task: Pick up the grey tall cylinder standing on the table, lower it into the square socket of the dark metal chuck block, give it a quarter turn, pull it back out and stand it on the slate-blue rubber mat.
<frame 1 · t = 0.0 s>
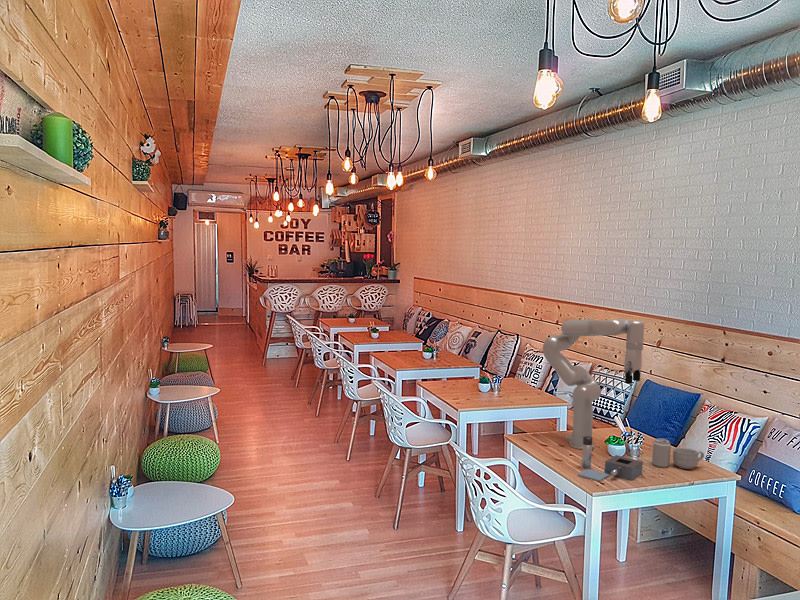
hand: (632, 382, 289), 37 cm above the table, tool pointing down, fingers open, 9 cm apart
mat: (593, 476, 264), on the table
chuck block: (623, 473, 269), on the table
grey tall cylinder: (586, 467, 275), on the table
teacup: (688, 467, 280), on the table
can: (660, 465, 281), on the table
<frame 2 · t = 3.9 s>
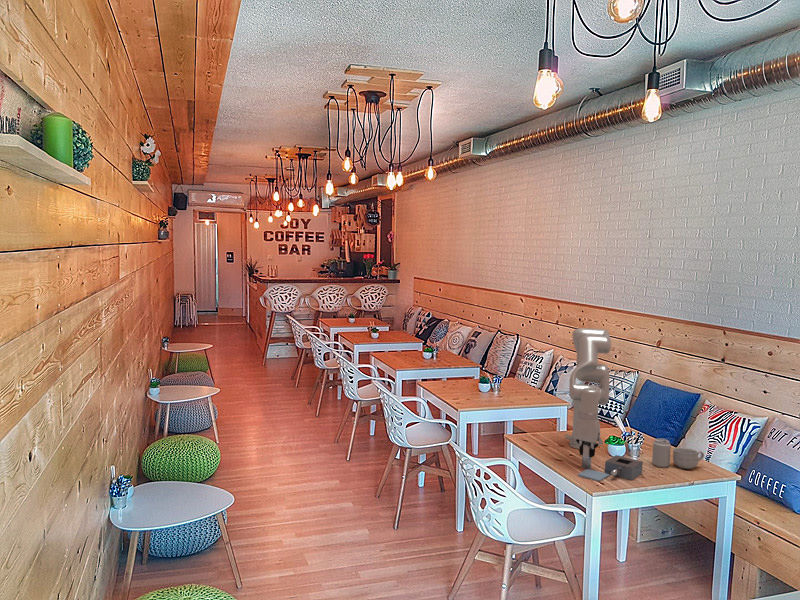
hand: (587, 455, 275), 6 cm above the table, tool pointing down, fingers closed on grey tall cylinder, 4 cm apart
grey tall cylinder: (586, 467, 275), on the table, touching gripper
everything else where it was.
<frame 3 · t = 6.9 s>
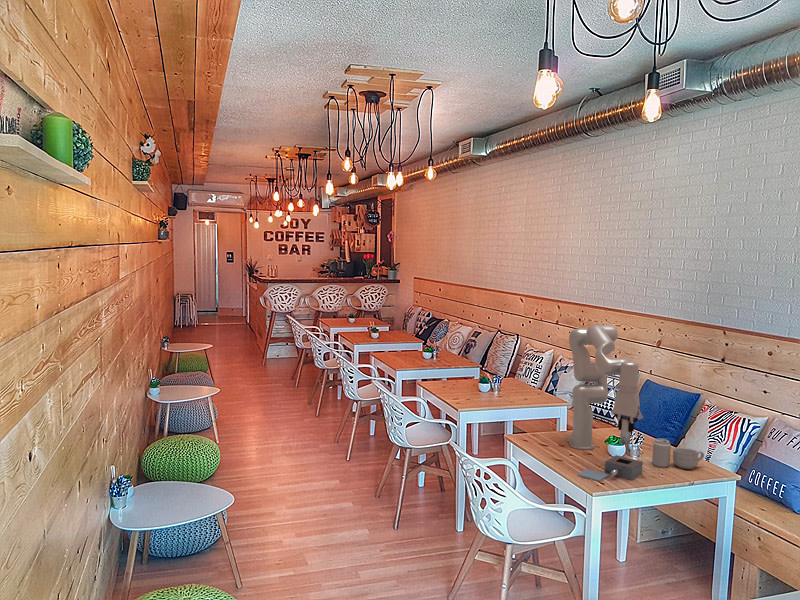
hand: (625, 430, 267), 20 cm above the table, tool pointing down, fingers closed on grey tall cylinder, 4 cm apart
grey tall cylinder: (625, 443, 268), point 14 cm above the table, touching gripper
everything else where it was.
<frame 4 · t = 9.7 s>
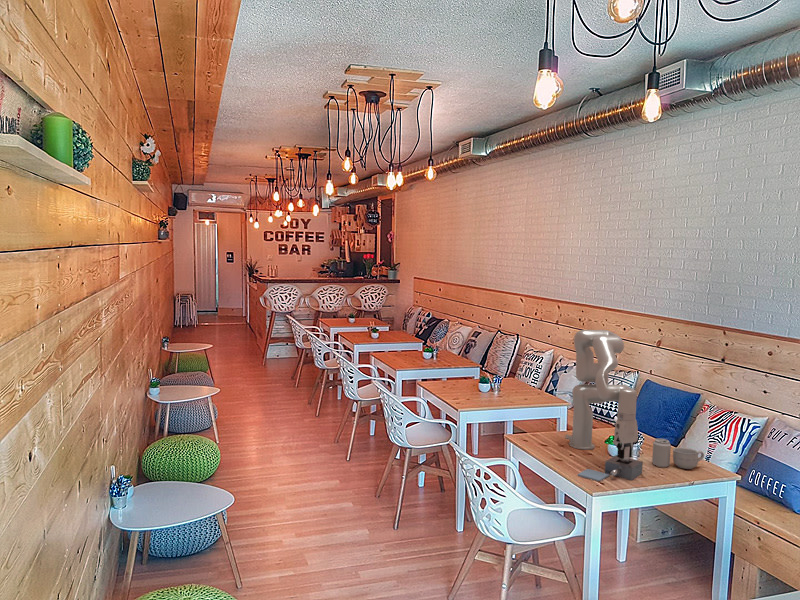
hand: (624, 456, 268), 8 cm above the table, tool pointing down, fingers closed on grey tall cylinder, 4 cm apart
grey tall cylinder: (623, 469, 268), point 2 cm above the table, touching gripper
everything else where it was.
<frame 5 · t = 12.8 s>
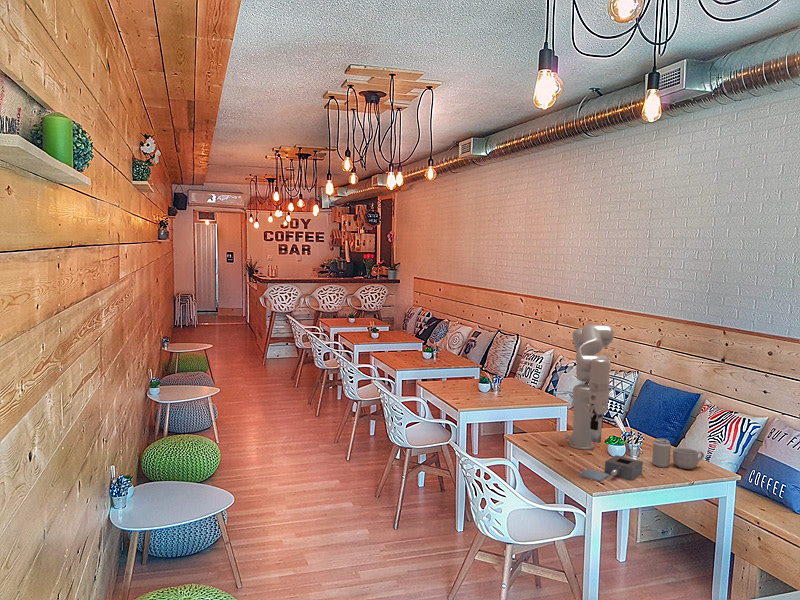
hand: (596, 428, 263), 21 cm above the table, tool pointing down, fingers closed on grey tall cylinder, 4 cm apart
grey tall cylinder: (596, 441, 263), point 15 cm above the table, touching gripper
everything else where it was.
when the fingers open (8 cm above the table, at t = 15.7 s): grey tall cylinder stays where it is, resting on mat.
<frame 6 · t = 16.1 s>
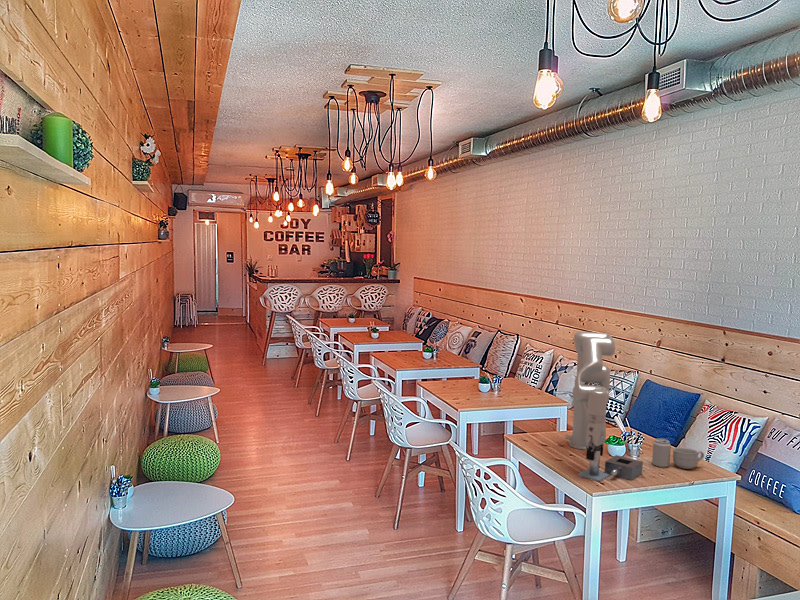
hand: (594, 457, 264), 8 cm above the table, tool pointing down, fingers open, 8 cm apart
grey tall cylinder: (593, 474, 264), point 1 cm above the table, touching mat
everything else where it was.
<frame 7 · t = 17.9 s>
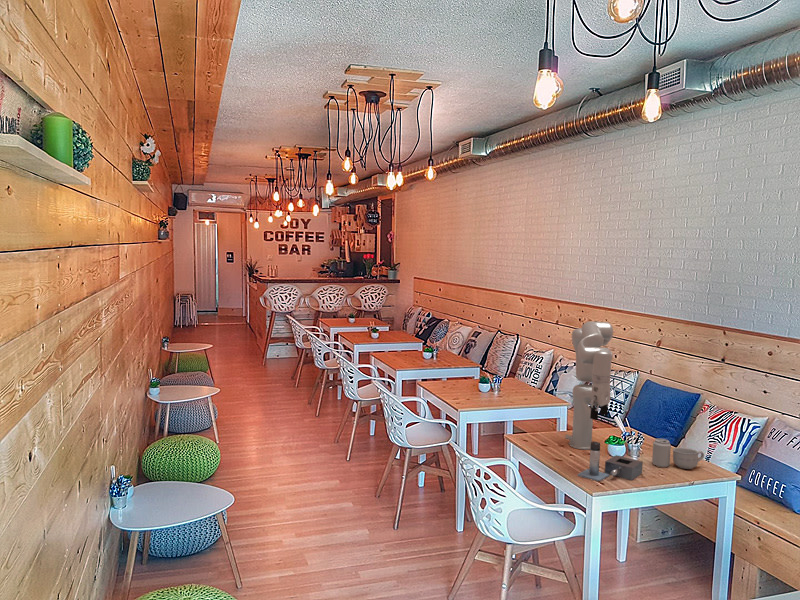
hand: (598, 417, 266), 25 cm above the table, tool pointing down, fingers open, 9 cm apart
nothing on the table moved.
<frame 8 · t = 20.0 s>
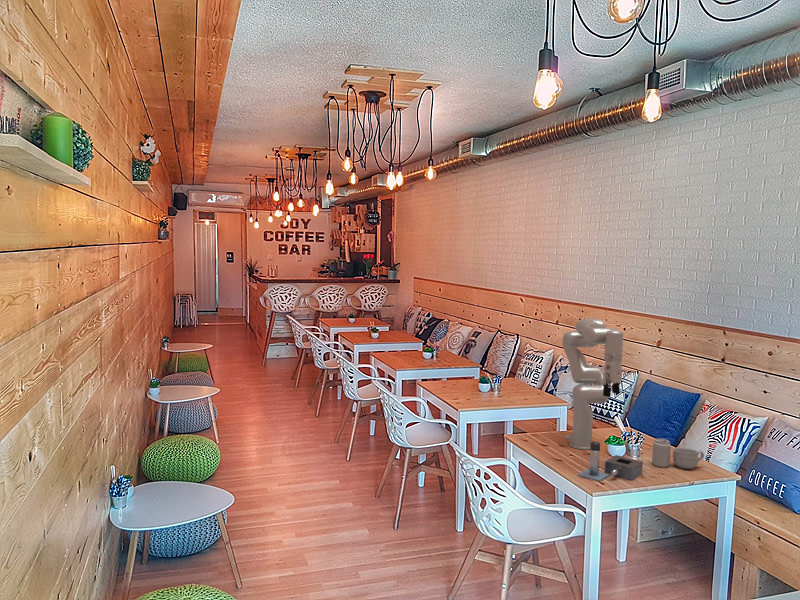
hand: (611, 394, 275), 33 cm above the table, tool pointing down, fingers open, 9 cm apart
nothing on the table moved.
at the end: grey tall cylinder inside the target area on the mat (0.1 cm from its centre), point 0.8 cm above the mat's base; grey tall cylinder tilted 0°; the gripper is holding nothing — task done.
